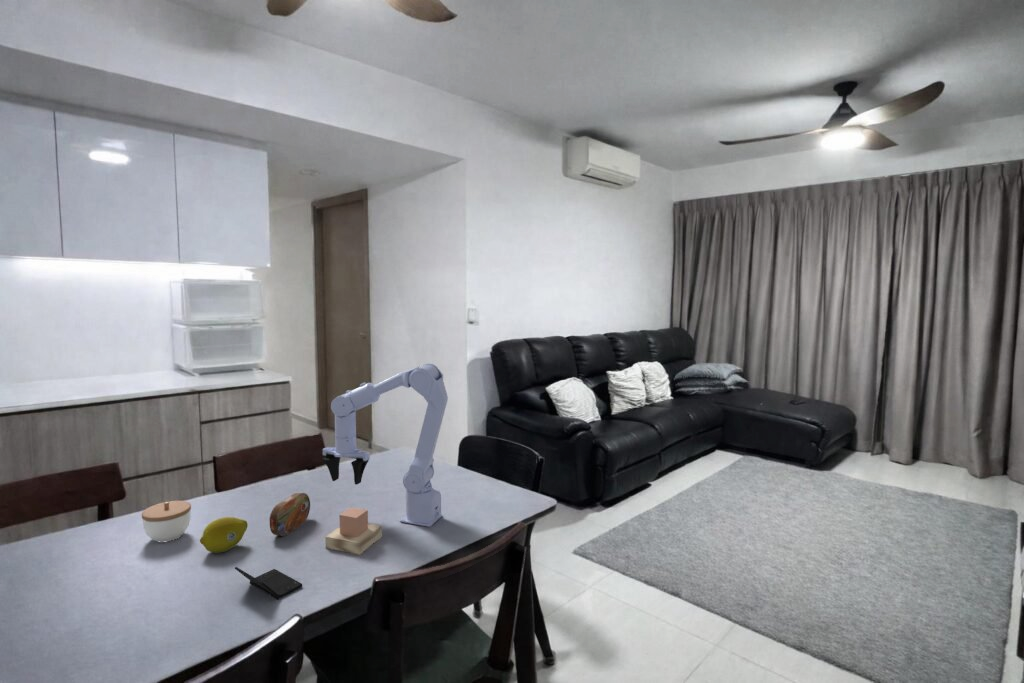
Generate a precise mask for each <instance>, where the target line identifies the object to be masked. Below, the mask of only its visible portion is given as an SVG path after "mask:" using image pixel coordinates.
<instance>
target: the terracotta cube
mask: <svg viewBox="0 0 1024 683" xmlns="http://www.w3.org/2000/svg"><path fill="white" fill-rule="evenodd" d="M368 523H369V510H368V509H365V508H364V509H363V508H359V507H353V506H352V507H351V506H350V507H349V508H348V509H345V511H343V512H342V513H340V514H339V527H340V534H344V535H349V536H354V537H357V536H359V535H360V534H361V533H363V532H364V531H365V530H367V529H368Z"/></svg>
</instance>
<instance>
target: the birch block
mask: <svg viewBox="0 0 1024 683" xmlns="http://www.w3.org/2000/svg"><path fill="white" fill-rule="evenodd" d="M382 537H383V526H382V525H381V524H380V525H379V524H374V523H369V522H368V529H367V530H365V531H364V532H363V533H361V534H360V535H359V536H357V537H354V536H349V535H344V534H340V526H339V527H337V528H336V529H334V530H333V531H331V532H330V533H329V534H327V535H325V549H329V548H331V549H330V550H334V549H335V550H334V551H339V550H340V551H339V552H344V551H345V553H349V552H350V553H349V554H353V555H359V556H360V555H361V554H363V553H364V552H366V550H367V549H369V548H370V547H371V546H373V545H374V544H375V543H376V542H377V541H378V540H380V539H381V538H382ZM373 543H374V544H373ZM363 551H364V552H363Z"/></svg>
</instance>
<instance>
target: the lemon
mask: <svg viewBox="0 0 1024 683" xmlns="http://www.w3.org/2000/svg"><path fill="white" fill-rule="evenodd" d="M248 524H249V523H248V522H247V520H245V519H240V518H238V517H234V516H226V517H221V518H217V519H215V520H213V521H211V522H210V523H208V524H207V526H205V528H204V530H203V533H202V536H201V537H200V539H199V543H200V544H201V545H202V546H203V547H204V548H205V550H206V551H208V552H210V553H216V554H217V553H224V552H228V551H229V550H231V549H233V548H234V547H235V546H237V545H238V544H239V543H240V541H241V540H242V539H243V537H244V534H245V533H246V531H247V529H248Z"/></svg>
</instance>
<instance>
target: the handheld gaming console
mask: <svg viewBox="0 0 1024 683" xmlns="http://www.w3.org/2000/svg"><path fill="white" fill-rule="evenodd" d="M234 570H236V571H237V572H239V573H240V574H242V576H244V577H245V578H246V579H247V580H249V584H251V585H252V586H254V587H256V588H257V589H259V590H260V591H262V592H264V593H265V594H267V595H270V596H271V597H273V598H274V599H275V600H277V601H279V600H281V599H282V598H285V597H287V596H288V595H290V594H292V593H294V592H296V591H298V590H300V589H302V588H303V583H301V582H299V581H298V580H296V579H294V578H292V577H291V576H289V575H287V574H286V573H284V572H281V571H280V570H278V569H276V568H273V569H271V570H269V571H266V572H264V573H262V574H260V575H258V576H256V577H254V576H252V575H251V574H249V573H247V572H246V571H245V570H244V571H243V569H240V568H239V567H237V566H235V567H234Z"/></svg>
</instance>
